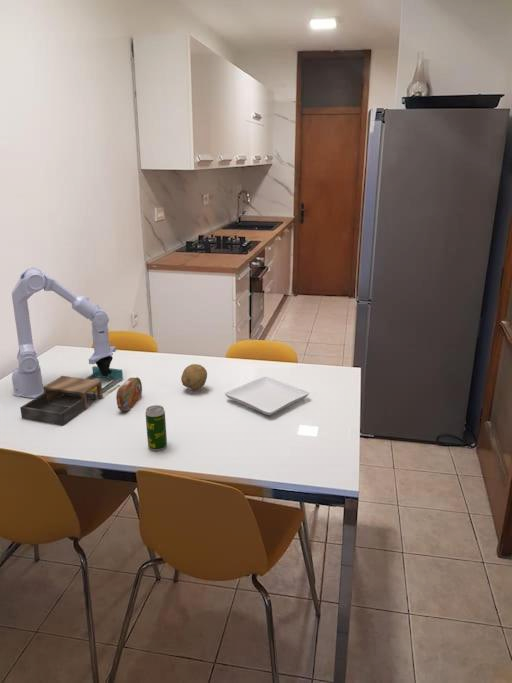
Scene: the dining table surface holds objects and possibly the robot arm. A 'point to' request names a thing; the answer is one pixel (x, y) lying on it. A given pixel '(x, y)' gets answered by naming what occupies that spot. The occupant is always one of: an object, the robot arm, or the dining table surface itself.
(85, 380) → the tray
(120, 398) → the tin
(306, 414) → the dining table surface
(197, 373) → the brown potato
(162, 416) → the beer can
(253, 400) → the salad plate
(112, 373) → the drawer
